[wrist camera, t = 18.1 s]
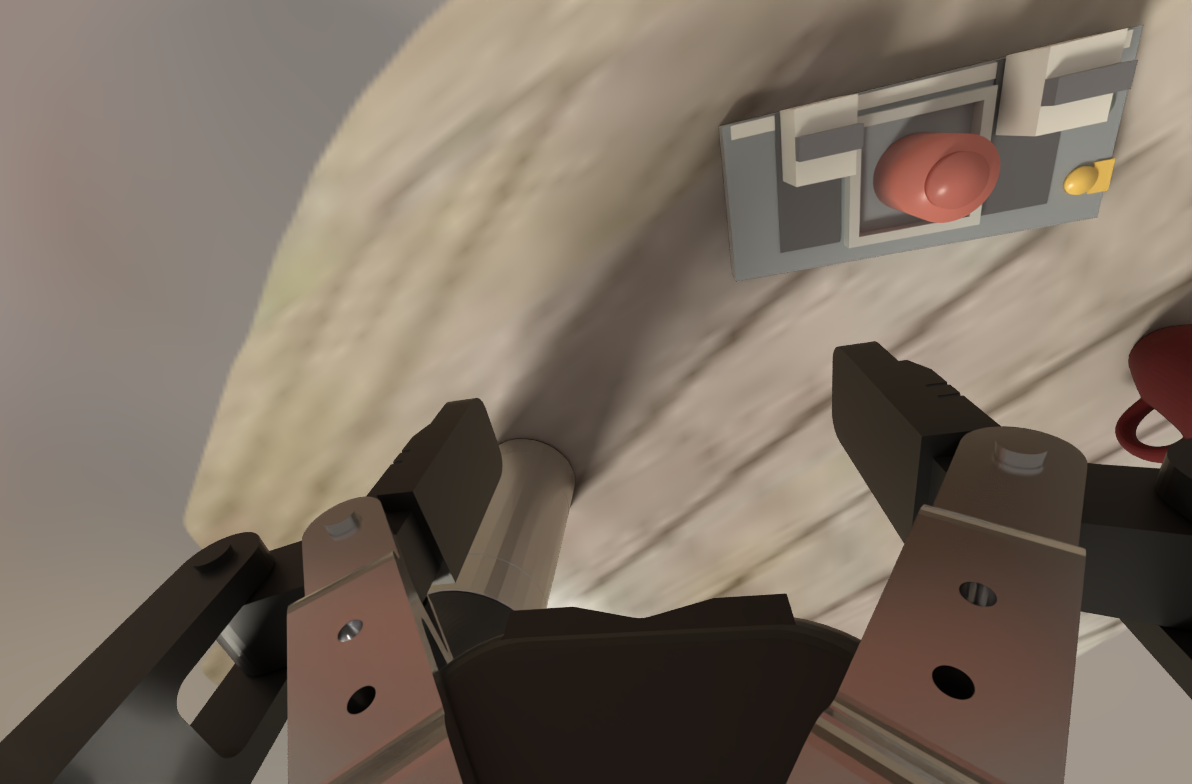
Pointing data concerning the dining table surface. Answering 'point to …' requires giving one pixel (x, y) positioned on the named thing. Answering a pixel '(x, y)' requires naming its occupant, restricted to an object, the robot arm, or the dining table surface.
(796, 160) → the toggle
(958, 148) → the cap
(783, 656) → the robot arm
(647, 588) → the dining table surface
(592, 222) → the dining table surface
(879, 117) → the panel
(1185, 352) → the mug
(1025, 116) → the toggle
